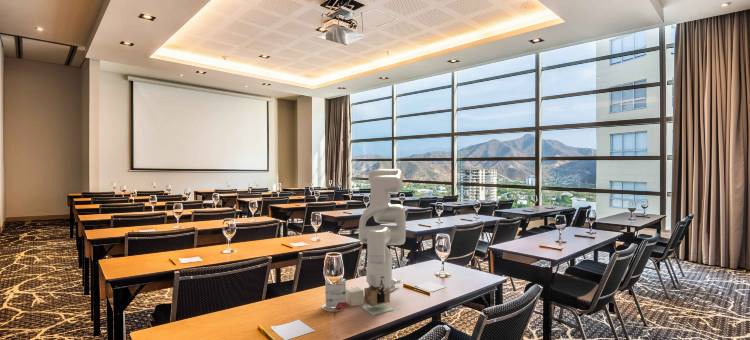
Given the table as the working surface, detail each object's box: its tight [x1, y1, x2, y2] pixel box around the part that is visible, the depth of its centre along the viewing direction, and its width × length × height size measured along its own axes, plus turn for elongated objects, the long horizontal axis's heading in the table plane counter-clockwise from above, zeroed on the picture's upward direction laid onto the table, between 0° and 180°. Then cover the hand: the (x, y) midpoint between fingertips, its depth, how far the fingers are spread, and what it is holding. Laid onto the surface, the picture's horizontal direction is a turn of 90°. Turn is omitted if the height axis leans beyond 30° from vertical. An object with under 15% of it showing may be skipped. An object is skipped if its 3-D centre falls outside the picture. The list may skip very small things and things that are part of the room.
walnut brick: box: [363, 285, 391, 306], centre depth 170 cm, size 6×9×6 cm, turn 122°
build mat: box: [361, 303, 394, 316], centre depth 170 cm, size 10×10×1 cm
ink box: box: [324, 278, 347, 309], centre depth 174 cm, size 8×5×12 cm, turn 89°
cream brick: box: [346, 286, 365, 307], centre depth 178 cm, size 6×6×6 cm
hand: (377, 300), depth 170 cm, fingers closed on walnut brick, 6 cm apart
